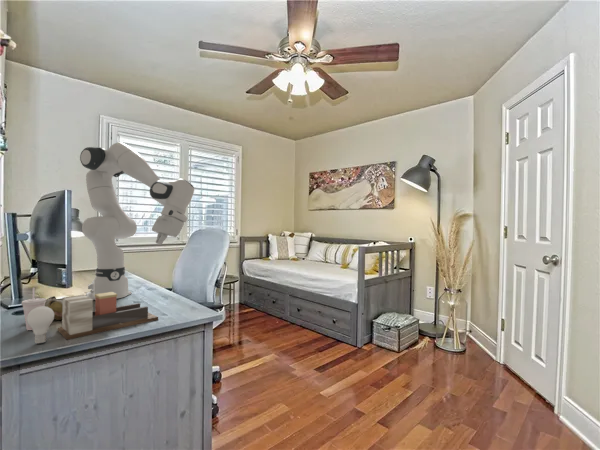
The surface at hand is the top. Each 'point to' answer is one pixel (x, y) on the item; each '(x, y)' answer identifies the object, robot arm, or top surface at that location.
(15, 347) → the top surface
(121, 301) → the top surface
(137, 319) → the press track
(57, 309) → the ceramic sculpture
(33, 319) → the lightbulb
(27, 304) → the smoothie
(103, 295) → the plunger
